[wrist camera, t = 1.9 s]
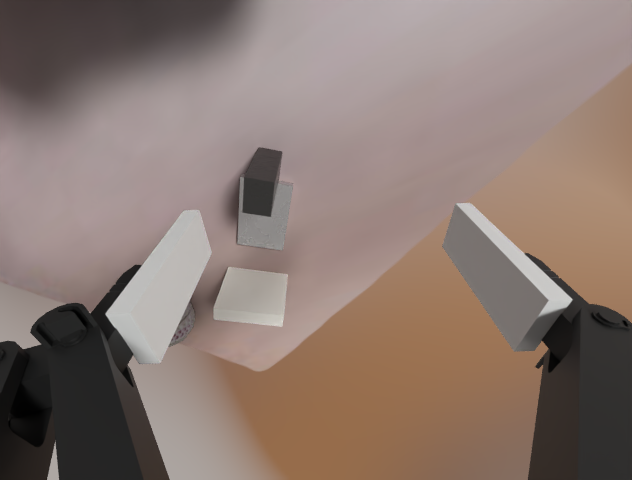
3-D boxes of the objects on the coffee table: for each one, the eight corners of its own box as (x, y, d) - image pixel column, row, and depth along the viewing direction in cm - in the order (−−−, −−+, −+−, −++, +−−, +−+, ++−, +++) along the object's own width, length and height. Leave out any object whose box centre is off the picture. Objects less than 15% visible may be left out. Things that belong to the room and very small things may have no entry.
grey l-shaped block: (238, 240, 43) (222, 285, 35) (243, 144, 35) (223, 173, 26) (283, 246, 44) (277, 291, 36) (297, 154, 36) (294, 185, 27)
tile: (228, 278, 48) (213, 320, 40) (228, 266, 46) (213, 308, 39) (285, 285, 49) (281, 327, 41) (287, 274, 47) (284, 315, 40)
